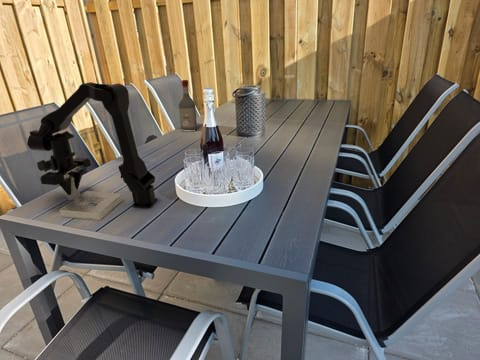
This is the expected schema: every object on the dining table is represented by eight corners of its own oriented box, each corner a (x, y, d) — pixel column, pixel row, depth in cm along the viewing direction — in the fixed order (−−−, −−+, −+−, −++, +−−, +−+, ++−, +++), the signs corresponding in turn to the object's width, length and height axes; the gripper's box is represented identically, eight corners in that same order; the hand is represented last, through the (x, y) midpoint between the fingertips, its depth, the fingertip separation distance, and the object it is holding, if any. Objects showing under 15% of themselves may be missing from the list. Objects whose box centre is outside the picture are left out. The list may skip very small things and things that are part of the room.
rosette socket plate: (123, 200, 113) (122, 193, 112) (100, 220, 100) (98, 213, 99) (88, 197, 116) (86, 191, 115) (61, 216, 103) (59, 209, 102)
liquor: (195, 131, 196) (191, 81, 183) (180, 132, 196) (175, 81, 184) (197, 128, 204) (193, 79, 192) (183, 128, 204) (178, 79, 192)
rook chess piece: (77, 193, 118) (72, 173, 115) (83, 196, 116) (78, 176, 113) (64, 198, 115) (59, 177, 112) (70, 201, 113) (65, 180, 109)
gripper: (60, 142, 118) (70, 180, 125) (19, 159, 102) (33, 202, 108) (87, 143, 116) (95, 182, 123) (50, 161, 100) (62, 205, 106)
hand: (72, 192), depth 115 cm, fingers closed on rook chess piece, 3 cm apart
